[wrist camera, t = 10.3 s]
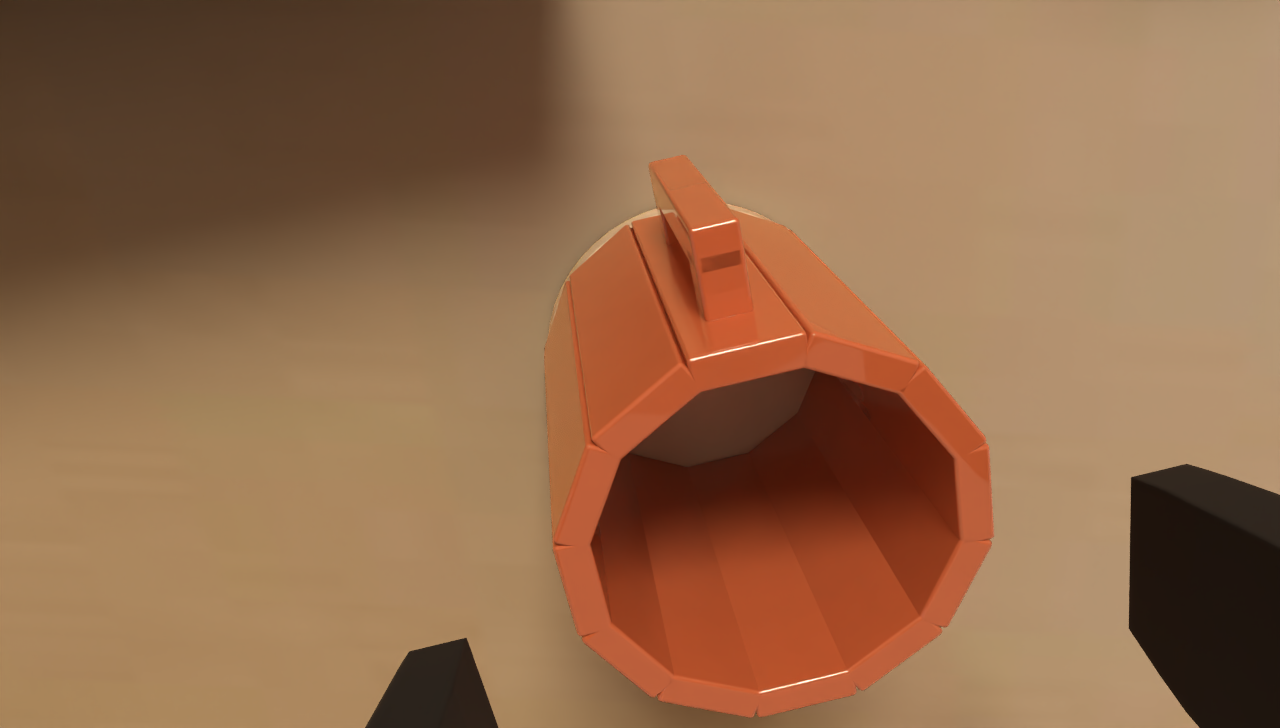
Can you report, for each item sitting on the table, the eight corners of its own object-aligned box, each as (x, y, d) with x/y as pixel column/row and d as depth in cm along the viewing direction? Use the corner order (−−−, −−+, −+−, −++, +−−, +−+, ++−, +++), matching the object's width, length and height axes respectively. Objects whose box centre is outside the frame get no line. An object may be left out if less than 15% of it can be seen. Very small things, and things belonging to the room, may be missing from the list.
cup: (583, 497, 18) (611, 755, 12) (497, 173, 16) (479, 303, 10) (848, 435, 18) (1002, 660, 12) (806, 103, 16) (977, 189, 10)
